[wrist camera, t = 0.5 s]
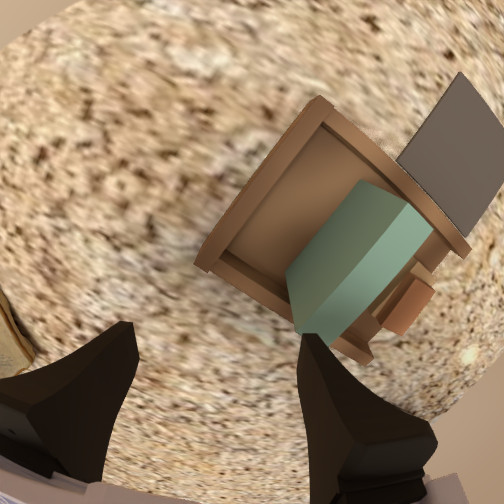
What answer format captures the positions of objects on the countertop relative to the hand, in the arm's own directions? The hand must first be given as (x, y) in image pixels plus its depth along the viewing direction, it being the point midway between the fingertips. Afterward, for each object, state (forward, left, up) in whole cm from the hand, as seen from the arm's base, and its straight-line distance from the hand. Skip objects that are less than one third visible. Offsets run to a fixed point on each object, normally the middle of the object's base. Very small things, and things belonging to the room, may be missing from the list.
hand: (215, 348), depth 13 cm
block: (-4, -6, -9) cm, 11 cm away
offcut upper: (-11, -5, -8) cm, 14 cm away
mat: (-9, -17, -10) cm, 22 cm away
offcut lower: (-11, -6, -9) cm, 15 cm away
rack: (-5, -6, -10) cm, 13 cm away
